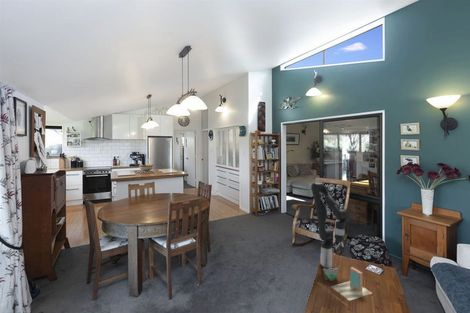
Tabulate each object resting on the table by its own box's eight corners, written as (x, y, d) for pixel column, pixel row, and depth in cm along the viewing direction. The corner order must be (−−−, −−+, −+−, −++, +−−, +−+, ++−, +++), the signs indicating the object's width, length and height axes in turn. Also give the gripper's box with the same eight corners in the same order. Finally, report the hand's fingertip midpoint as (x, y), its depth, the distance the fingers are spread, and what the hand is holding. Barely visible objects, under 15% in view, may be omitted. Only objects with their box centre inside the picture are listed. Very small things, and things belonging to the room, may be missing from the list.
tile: (349, 285, 185) (349, 267, 184) (352, 284, 186) (352, 266, 185) (359, 292, 177) (359, 273, 176) (362, 291, 178) (362, 272, 177)
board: (330, 288, 184) (330, 286, 184) (352, 281, 192) (352, 280, 192) (349, 302, 168) (349, 300, 167) (372, 294, 175) (372, 293, 175)
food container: (327, 284, 190) (327, 271, 189) (323, 279, 196) (323, 267, 195) (341, 282, 192) (341, 269, 191) (336, 277, 198) (336, 266, 197)
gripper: (341, 230, 209) (339, 248, 210) (330, 233, 202) (328, 251, 202) (348, 233, 202) (347, 252, 203) (337, 236, 195) (336, 255, 196)
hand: (338, 252), depth 203 cm, fingers open, 8 cm apart
